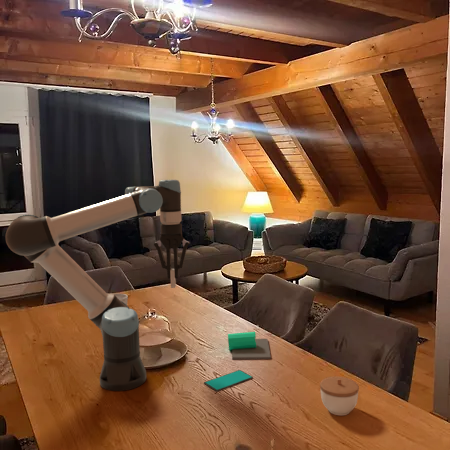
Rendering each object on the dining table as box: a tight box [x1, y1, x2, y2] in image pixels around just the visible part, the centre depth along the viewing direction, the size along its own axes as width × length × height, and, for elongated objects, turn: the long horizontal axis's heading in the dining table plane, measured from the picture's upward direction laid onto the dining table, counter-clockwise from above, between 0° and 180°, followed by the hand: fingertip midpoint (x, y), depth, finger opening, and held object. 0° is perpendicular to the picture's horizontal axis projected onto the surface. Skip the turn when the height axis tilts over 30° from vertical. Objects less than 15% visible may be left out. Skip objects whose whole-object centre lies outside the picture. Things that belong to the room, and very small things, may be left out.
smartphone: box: [203, 369, 254, 393], centre depth 157 cm, size 7×1×15 cm
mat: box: [231, 338, 272, 360], centre depth 183 cm, size 18×14×1 cm
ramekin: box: [113, 293, 129, 306], centre depth 235 cm, size 13×13×7 cm
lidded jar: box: [319, 376, 360, 417], centre depth 137 cm, size 11×11×9 cm
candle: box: [227, 331, 261, 351], centre depth 183 cm, size 6×6×12 cm
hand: (173, 286), depth 175 cm, fingers closed
